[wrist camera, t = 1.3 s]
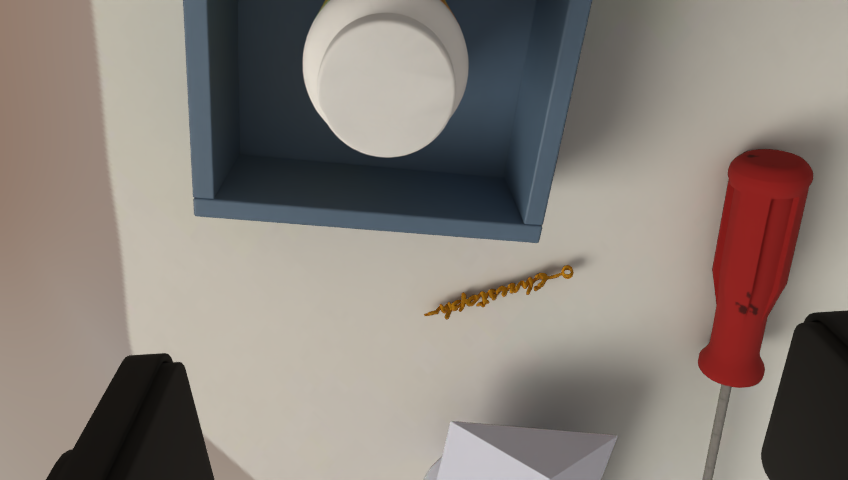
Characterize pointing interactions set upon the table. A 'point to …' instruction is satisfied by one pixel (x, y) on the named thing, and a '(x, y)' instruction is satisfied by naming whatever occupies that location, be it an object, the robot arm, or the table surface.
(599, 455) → the wedge on round base
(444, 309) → the keychain
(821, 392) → the robot arm
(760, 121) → the table surface
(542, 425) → the table surface
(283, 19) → the storage bin
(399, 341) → the table surface
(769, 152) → the screwdriver
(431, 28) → the supplement bottle
